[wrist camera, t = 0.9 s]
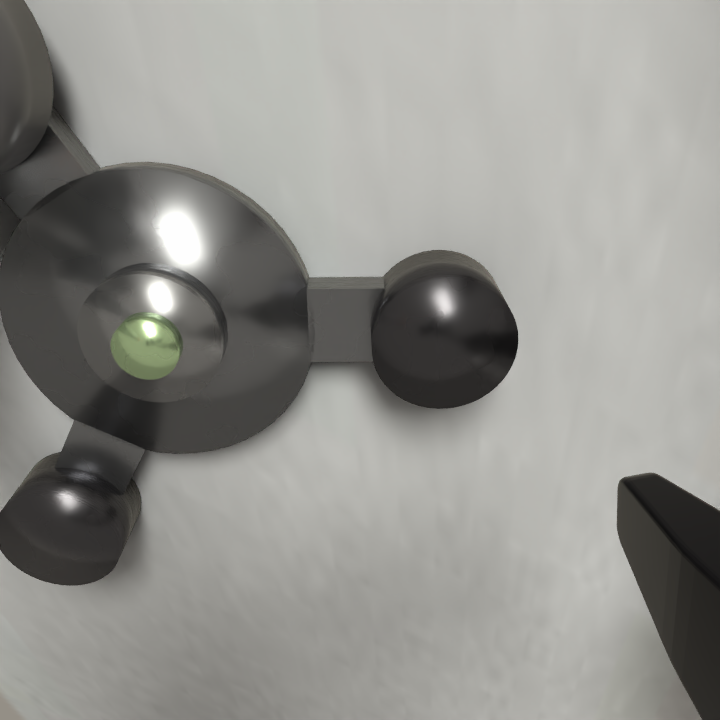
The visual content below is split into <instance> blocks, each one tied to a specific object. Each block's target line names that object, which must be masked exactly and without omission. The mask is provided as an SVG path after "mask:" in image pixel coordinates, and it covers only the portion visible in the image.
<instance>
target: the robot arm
mask: <svg viewBox="0 0 720 720" xmlns="http://www.w3.org/2000/svg"><path fill="white" fill-rule="evenodd" d="M617 531H618V535H619V539H620V542H621V545H622V547H623V550H624V552H625V555H626V557H627V559H628V562H629V564H630V567H631V569H632V571H633V574H634V576H635V578H636V581H637V583H638V586H639V588H640V590H641V593H642V595H643V597H644V600H645V602H646V605H647V607H648V609H649V612H650V614H651V617H652V619H653V621H654V624H655V626H656V628H657V631H658V633H659V636H660V638H661V640H662V643H663V645H664V647H665V649H666V652H667V654H668V656H669V658H670V661H671V663H672V665H673V667H674V668H675V670H676V672H677V674H678V676H679V678H680V680H681V682H682V684H683V686H684V687H685V689H686V691H687V693H688V695H689V697H690V698H691V700H692V702H693V704H694V706H695V707H696V709H697V711H698V713H699V715H700V717H701V718H702V720H720V510H718V509H716V508H715V507H713V506H711V505H709V504H708V503H706V502H704V501H703V500H701V499H699V498H697V497H696V496H694V495H692V494H691V493H689V492H687V491H685V490H684V489H682V488H680V487H679V486H677V485H675V484H674V483H672V482H670V481H668V480H667V479H665V478H663V477H662V476H660V475H658V474H655V473H644V474H639V475H634V476H628V477H624V478H622V479H621V480H620V481H619V484H618V498H617Z"/></svg>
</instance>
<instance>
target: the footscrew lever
mask: <svg viewBox="0 0 720 720" xmlns="http://www.w3.org/2000/svg"><path fill="white" fill-rule="evenodd" d="M52 104H53V76H52V68H51V62H50V58H49V54H48V50H47V47H46V44H45V41H44V39H43V36H42V33H41V30H40V28H39V26H38V24H37V22H36V20H35V18H34V16H33V14H32V12H31V11H30V9H29V8H28V6H27V4H26V3H25V1H24V0H0V174H2V173H5V172H7V171H8V170H10V169H12V168H14V167H16V166H17V165H19V164H20V163H21V162H23V161H24V160H25V159H26V158H27V157H28V156H29V155H30V154H31V153H32V152H33V151H34V150H35V148H36V147H37V145H38V144H39V142H40V141H41V139H42V137H43V135H44V133H45V131H46V128H47V126H48V123H49V119H50V115H51V111H52Z"/></svg>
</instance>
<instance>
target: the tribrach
mask: <svg viewBox="0 0 720 720" xmlns="http://www.w3.org/2000/svg"><path fill="white" fill-rule="evenodd" d="M0 197H1V198H2V199H3V200H4V202H5V203H6V204H7V205H8V206H9V207H10V209H11V210H12V211H13V212H14V213H15V214H16V216H17V217H18V218H19V219H20V220H21V221H20V223H19V224H18V226H17V227H16V229H15V230H14V232H13V234H12V236H11V238H10V240H9V242H8V245H7V247H6V249H5V252H4V256H3V260H2V264H1V267H0V311H1V316H2V321H3V325H4V328H5V331H6V334H7V337H8V340H9V343H10V345H11V347H12V349H13V351H14V353H15V355H16V357H17V359H18V361H19V362H20V364H21V365H22V367H23V368H24V370H25V371H26V373H27V375H28V376H29V377H30V379H31V380H32V381H33V382H34V383H35V385H36V386H37V387H38V388H39V390H40V391H41V392H42V393H43V394H44V395H45V396H46V397H47V398H48V399H49V400H50V401H51V402H52V403H53V404H54V405H56V406H57V407H58V408H59V409H61V410H62V411H63V412H64V413H66V414H67V415H68V416H69V417H71V418H72V419H74V423H73V425H72V427H71V430H70V432H69V435H68V437H67V439H66V442H65V444H64V446H63V449H62V451H61V452H59V453H55V454H52V455H50V456H47V457H45V458H44V459H42V460H41V461H39V462H38V463H37V464H36V465H35V466H34V468H33V469H32V470H31V471H30V473H29V474H28V476H27V477H26V478H25V480H24V481H23V482H22V484H21V485H20V486H19V488H18V489H17V490H16V492H15V493H14V495H13V496H12V497H11V499H10V500H9V501H8V503H7V504H6V505H5V507H4V508H3V509H2V511H1V512H0V550H1V551H2V553H3V554H4V555H5V557H6V558H7V559H8V560H9V561H10V562H11V563H12V564H13V565H14V566H16V567H17V568H18V569H20V570H21V571H23V572H24V573H26V574H28V575H30V576H32V577H34V578H37V579H39V580H42V581H45V582H49V583H53V584H59V585H83V584H88V583H92V582H95V581H97V580H99V579H101V578H103V577H105V576H106V575H108V574H109V573H110V572H111V571H112V570H113V569H114V567H115V566H116V564H117V562H118V560H119V557H120V555H121V553H122V551H123V549H124V546H125V544H126V542H127V540H128V537H129V535H130V533H131V531H132V529H133V526H134V524H135V522H136V520H137V517H138V515H139V513H140V509H141V497H140V493H139V490H138V488H137V486H136V484H135V482H134V481H133V479H132V476H133V474H134V472H135V470H136V468H137V466H138V464H139V462H140V460H141V458H142V456H143V454H144V452H145V450H150V451H155V452H164V453H198V452H205V451H212V450H216V449H220V448H224V447H227V446H231V445H233V444H236V443H238V442H241V441H243V440H246V439H248V438H249V437H251V436H253V435H255V434H257V433H259V432H260V431H262V430H263V429H264V428H266V427H267V426H269V425H270V424H271V423H273V422H274V421H275V420H276V419H277V418H278V417H279V416H280V415H281V414H282V413H283V412H284V411H285V410H286V409H287V408H288V406H289V405H290V404H291V403H292V401H293V400H294V399H295V397H296V396H297V394H298V392H299V390H300V389H301V387H302V385H303V383H304V381H305V378H306V376H307V373H308V371H309V368H310V364H311V362H374V365H375V368H376V371H377V373H378V375H379V377H380V378H381V380H382V381H383V382H384V384H385V385H386V386H387V387H388V388H389V389H390V390H391V391H392V392H393V393H395V394H396V395H397V396H399V397H400V398H402V399H403V400H405V401H408V402H410V403H412V404H415V405H418V406H422V407H427V408H437V409H441V408H453V407H458V406H462V405H466V404H468V403H471V402H474V401H476V400H478V399H480V398H482V397H483V396H485V395H486V394H488V393H489V392H491V391H492V390H493V389H494V388H495V387H497V385H498V384H499V383H500V382H501V381H502V380H503V379H504V378H505V376H506V375H507V373H508V372H509V370H510V368H511V366H512V364H513V362H514V359H515V357H516V353H517V348H518V330H517V325H516V322H515V319H514V316H513V314H512V312H511V310H510V309H509V307H508V305H507V303H506V301H505V299H504V297H503V296H502V294H501V292H500V290H499V288H498V286H497V284H496V283H495V281H494V279H493V277H492V276H491V275H490V273H489V272H488V271H487V270H486V269H485V268H484V267H483V266H482V265H481V264H480V263H478V262H477V261H476V260H474V259H472V258H470V257H468V256H466V255H464V254H461V253H458V252H453V251H446V250H432V251H426V252H421V253H418V254H414V255H412V256H410V257H408V258H406V259H404V260H402V261H400V262H399V263H397V264H396V265H395V266H394V267H392V268H391V269H390V270H389V271H388V272H387V273H386V274H385V275H384V277H325V278H309V275H308V273H307V270H306V267H305V264H304V263H303V261H302V259H301V257H300V255H299V253H298V251H297V249H296V247H295V246H294V244H293V243H292V241H291V240H290V239H289V237H288V236H287V234H286V233H285V232H284V230H283V229H282V228H281V227H280V226H279V224H278V223H277V222H276V221H275V220H274V219H273V218H272V217H271V216H270V215H269V214H268V213H267V212H266V211H265V210H264V209H263V208H262V207H260V206H259V205H258V204H257V203H256V202H255V201H253V200H252V199H251V198H249V197H248V196H246V195H245V194H243V193H242V192H240V191H239V190H237V189H236V188H234V187H233V186H231V185H229V184H227V183H225V182H223V181H221V180H219V179H217V178H215V177H213V176H210V175H207V174H205V173H202V172H199V171H196V170H193V169H190V168H185V167H181V166H177V165H172V164H164V163H154V162H134V163H122V164H117V165H111V166H106V167H103V168H100V167H99V166H98V164H97V163H96V162H95V160H94V159H93V158H92V156H91V155H90V154H89V152H88V151H87V150H86V149H85V147H84V146H83V145H82V143H81V142H80V141H79V139H78V138H77V137H76V135H75V134H74V133H73V132H72V130H71V129H70V128H69V126H68V125H67V124H66V122H65V121H64V120H63V118H62V117H61V116H60V115H59V113H58V112H57V111H56V109H55V108H54V107H53V105H52V111H51V115H50V119H49V123H48V126H47V128H46V131H45V133H44V135H43V137H42V139H41V141H40V142H39V144H38V145H37V147H36V148H35V150H34V151H33V152H32V153H31V154H30V155H29V156H28V157H27V158H26V159H25V160H24V161H23V162H21V163H20V164H19V165H17V166H16V167H14V168H12V169H10V170H8V171H7V172H5V173H2V174H0Z"/></svg>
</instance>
